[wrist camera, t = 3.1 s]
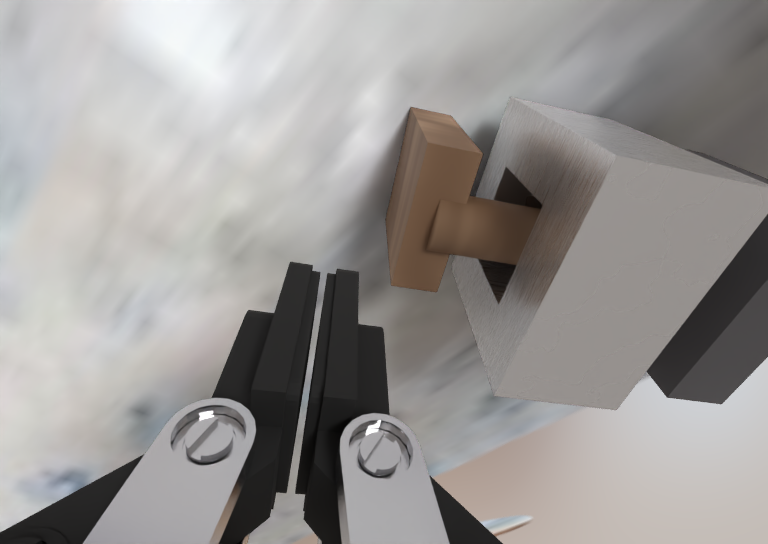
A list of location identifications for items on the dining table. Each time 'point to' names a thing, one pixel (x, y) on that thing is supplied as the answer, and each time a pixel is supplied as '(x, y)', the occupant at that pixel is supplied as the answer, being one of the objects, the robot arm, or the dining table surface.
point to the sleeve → (597, 253)
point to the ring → (721, 327)
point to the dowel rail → (445, 206)
